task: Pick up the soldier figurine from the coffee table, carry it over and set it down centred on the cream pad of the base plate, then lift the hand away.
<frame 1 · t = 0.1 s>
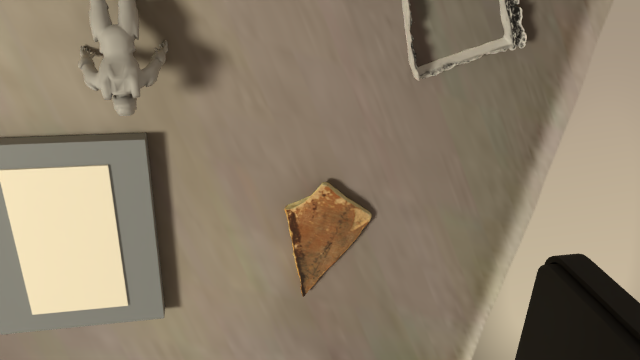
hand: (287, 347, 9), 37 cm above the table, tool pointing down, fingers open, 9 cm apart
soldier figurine: (120, 17, 41), on the table
shard: (329, 229, 53), on the table
base plate: (72, 233, 47), on the table
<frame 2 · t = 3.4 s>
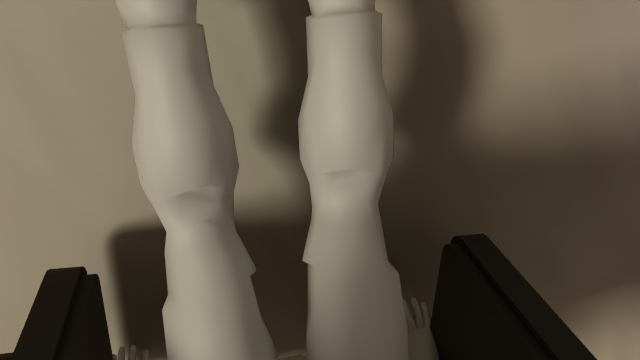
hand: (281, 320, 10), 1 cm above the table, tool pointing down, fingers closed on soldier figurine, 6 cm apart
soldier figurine: (264, 233, 10), on the table, touching gripper
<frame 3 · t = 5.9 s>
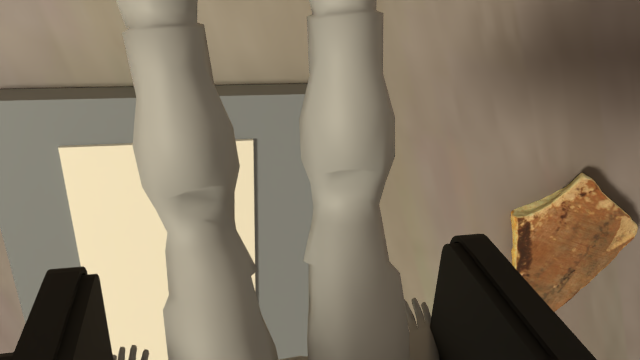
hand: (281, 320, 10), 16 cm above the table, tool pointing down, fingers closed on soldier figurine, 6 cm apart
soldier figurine: (265, 233, 10), point 15 cm above the table, touching gripper
shard: (560, 247, 34), on the table
base plate: (173, 256, 28), on the table
when the fingers open (3 cm above the table, at t = 8.9 s): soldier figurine stays where it is, resting on base plate.
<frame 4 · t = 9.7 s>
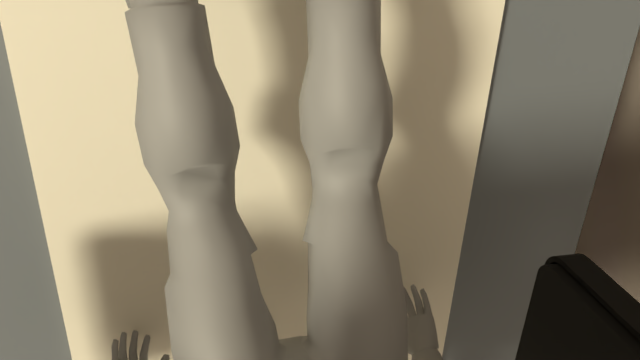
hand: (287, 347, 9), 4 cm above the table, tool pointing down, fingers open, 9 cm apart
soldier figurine: (265, 219, 11), point 1 cm above the table, touching base plate
base plate: (263, 240, 13), on the table
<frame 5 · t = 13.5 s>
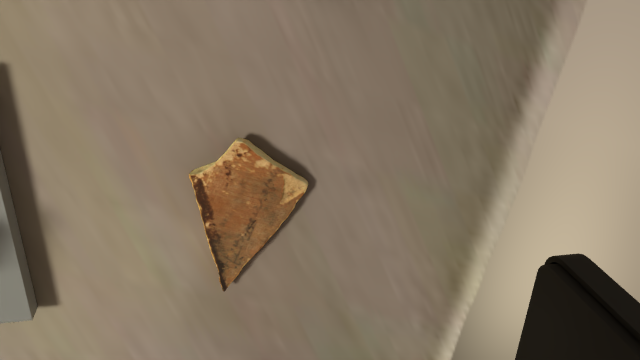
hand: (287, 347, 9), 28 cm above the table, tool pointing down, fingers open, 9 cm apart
shard: (255, 203, 41), on the table
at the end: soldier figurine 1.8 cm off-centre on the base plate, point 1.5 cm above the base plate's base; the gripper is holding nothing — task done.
